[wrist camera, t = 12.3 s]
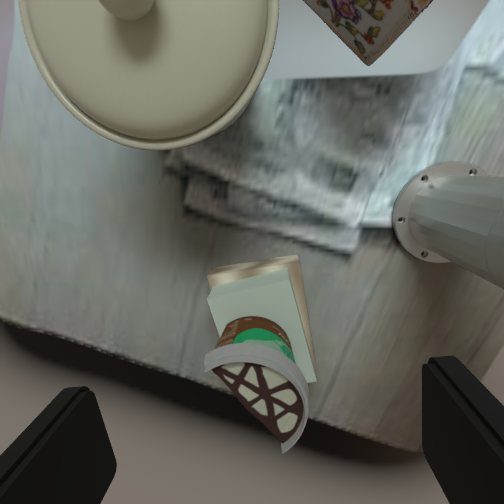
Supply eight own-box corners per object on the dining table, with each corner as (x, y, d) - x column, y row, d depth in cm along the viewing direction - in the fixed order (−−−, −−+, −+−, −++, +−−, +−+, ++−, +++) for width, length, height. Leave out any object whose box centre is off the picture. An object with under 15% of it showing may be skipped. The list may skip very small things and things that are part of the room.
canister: (97, 44, 36) (-122, -110, 16) (229, -49, 33) (162, -386, 13) (175, 182, 40) (78, 198, 20) (301, 111, 37) (337, 42, 17)
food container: (322, 360, 38) (340, 426, 28) (282, 385, 39) (286, 457, 29) (258, 285, 35) (254, 330, 26) (218, 315, 37) (200, 368, 27)
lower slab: (297, 253, 42) (299, 261, 39) (312, 353, 46) (315, 370, 43) (213, 266, 44) (207, 275, 40) (234, 363, 48) (231, 380, 44)
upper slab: (287, 268, 39) (289, 279, 35) (312, 361, 42) (316, 381, 38) (212, 286, 40) (206, 299, 36) (243, 375, 44) (240, 395, 40)
